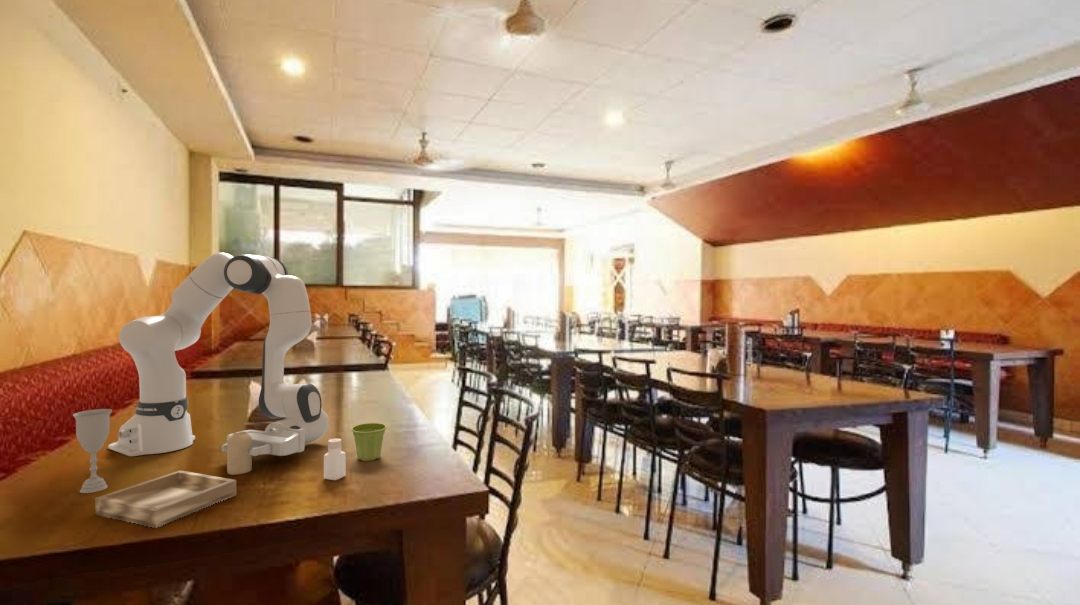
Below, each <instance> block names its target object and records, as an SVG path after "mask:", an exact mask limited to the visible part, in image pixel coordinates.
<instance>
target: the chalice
mask: <svg viewBox="0 0 1080 605" xmlns="http://www.w3.org/2000/svg"><path fill="white" fill-rule="evenodd" d="M112 411H113V409H111V408H99V409H98V408H97V409H89V410H82V411H79V412H75V413H73V414H72V416H73V417H74V419H75V437H76V438H77V440H78V443H79V444H80V445H81V447H82V448H83V450H84V451H85V453H89V454H90V459H89V461H88V462H89V463H90V468H88V471H90V477H89V478H87V479H85V480H84V482H83V484H82V486H81V489H80V490H79V493H81V494H92V493H96V492H99V491H100V492H101V491H104V490H106V489H108V487H109V485H108V484H107V482H106V481H105V479H104V478H103V477H101V476H99V475H98V474H97V470H98V469H99V467H98V465H97V462H98V460H99V459H98V457H97V453H98V451H101V450H102V449H103V447H104V445H105V443H106V441H107V440H108V436H109V435H110V431H111V430H110V429H111V426H110V420H111V419H110V416H111V414H112Z"/></svg>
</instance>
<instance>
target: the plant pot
mask: <svg viewBox="0 0 1080 605" xmlns="http://www.w3.org/2000/svg"><path fill="white" fill-rule="evenodd" d="M387 428H388V427H387V425H386V424H385V423H381V422H380V423H379V422H368V423H360V424H357V425H354V426H352V427H351V428H350V430H351V431H352V434H353V436H354V437H353V438H354V443H355V449H356V456H357V460H361V461H363V462H369V461H371V462H372V461H375V460H376V459H380V458H381V455H382V449H383V448H382V447H383V441H384V435H385V431H386V430H387Z"/></svg>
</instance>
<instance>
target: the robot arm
mask: <svg viewBox="0 0 1080 605" xmlns="http://www.w3.org/2000/svg"><path fill="white" fill-rule="evenodd" d="M233 289H235V290H237V291H240V292H244V293H250V294H254V295H261V294H262V295H263V296H264V297H265V299H267V300H266V301H267V303H268V313H269V328H268V331H267V334H266V335H265V337H264V340H263V344H262V345H263V346H262V362H261V365H262V366H261V387H260V392H259V396H258V407H259V411H260V412H261V414H263V415H264V417H266V418H268V419H270V420H275V419H281V420H277V421H273V422H270V423H269V424H268V425H267V426H266V427H265V429H264V430H259V429H246V430H241V431H236V432H235V433H238V432H246V433H247V434H249V435H250V436H251V437H252V448H251V449H250V450H249V452H250V453H249V455H251V456H252V457H256V456H259V455H260V456H261V455H272V456H278V457H283V456H288V455H293V454H296V453H297V454H298V453H299V454H300V453H302V452H305V447H306V446H305V445H307V444H309V443H313V442H314V441H316V440H319V439H320V438H322V437H323V436H324V435H325V434H326V433H327V431H329V428H330V419H329V415H328V414H327V413H326V412H325V411H324V410H323V408H322V406H323V405H322V403H323V402H322V397H321V393H320V390H319V389H318V388H317V386H315V385H314V384H313V383H308V382H307V383H294V384H286V383H285V381H284V378H285V377H284V376H285V375H284V372H285V357H286V354H287V352H288V351H289V350H290V349H291V348H292V347H293V346H295V345H297V344H298V343H300V342H301V341H303V340H304V339H305V338H306V337H307V336H308V334H309V333H310V332H311V329H312V314H311V313H312V312H311V306H310V305H311V304H310V300H309V299H310V298H309V295H308V290H307V288H306V284H305V282H304V281H303V279H301V278H300V277H298V276H295V275H291V274H290V275H289V271H288V268H287V267H286V265H285V264H284V263H283V262H282V261H281V260H280V259H278V258H275V257H271V256H267V255H264V254H263V255H262V254H249V253H243V254H238V255H236V256H233V255H232V254H230V253H228V252H227V253H226V252H222V251H221V252H220V251H219V252H215V253H213V254H211V255H210V256H208V258H206V259H205V260H203V261H202V262H200V264H199V265H197V266H196V267H195V268H194V269H193V270H192V271H191V272H190V273H189V274H188V275H187V277H185V278H184V279H183V281H182V282H181V283H180V284H179V285H178V286H177V287H176V288H175V289H174V290H173V291H172V293H171V301H172V302H171V303H170V304H169V307H168V308H167V310H166V311H165V312H163V313H161V314H160V315H152V316H151V315H150V316H141V317H139V318H136V319H134V320H131V321H128V322H127V323H125V324H124V325H123V326H122V327H121V328H120V331H119V334H118V339H119V340H118V341H119V343H120V344H119V345H120V346H121V347H122V349H123V350H124V351H126V352H127V353H129V355H130V356H131V358H132V360H133V361H134V364H135V367H136V370H137V373H138V378H139V379H138V381H139V401H138V402H134V403H133V405H134V406H133V407H134V408H136V409H135V410H134V411H135V412H134V415H133V416H132V417H131V418H129V419H128V420H127V421H126V422H124V423H123V424H122V425H121V426H120V428H119V430H118V440H117V441H115V442H112V443H110V444H108V447H107V449H108V450H112V451H114V452H117V453H120V454H122V455H124V456H127V457H136V456H138V457H139V456H143V455H155V454H164V453H170V452H174V451H179V450H182V449H185V448H188V447H191V445H193V444H194V440H196V435H194V434H193V431H192V430H193V429H192V421H191V414H190V413H189V412H188V411H187V410H188V409H189V401H188V397H187V383H186V382H187V375H186V374H187V373H186V371H185V369H184V368H182V366H180V365H179V362H178V359H177V357H176V351H180V350H185V349H186V348H189V347H190V346H192V345H194V344H195V343H197V341H198V340H199V339H200V338H201V334H202V327H203V325H204V323H205V322H206V320H207V318H208V317H209V316H210V315H211V313H212V312H213V311H214V310H215V309H216V308H217V307H218V306H219V304H220V303H221V302H222V301H223V300H224V299H225V298H226V297H227V296H228V295H229V294H230V292H232V290H233ZM282 418H284V419H282ZM233 433H234V432H233ZM233 433H230V434H229V433H228V434H227V436H226V440H227V439H228V438H229V437H230V436H231V435H232V434H233ZM221 451H222V452H226V453H227V442H226V443H224V444H222V445H221Z"/></svg>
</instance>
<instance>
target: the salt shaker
mask: <svg viewBox="0 0 1080 605" xmlns="http://www.w3.org/2000/svg"><path fill="white" fill-rule="evenodd" d="M342 441H343V440H342V439H341V438H330V439H328V440H327V450H328V451H327V452H326V453H325V454H324V455H323V478H324V480H330V481H331V480H332V481H338V480H340V479H342V478H344V477H345V476H346V474H347V472H346V470H347V464H346V463H347V461H346V460H347V459H346V458H347V456H346V455H347V454H346V452H345V451H342V447H343V446H342Z"/></svg>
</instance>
